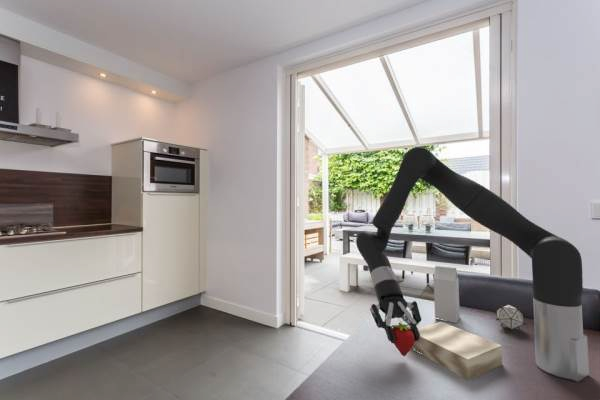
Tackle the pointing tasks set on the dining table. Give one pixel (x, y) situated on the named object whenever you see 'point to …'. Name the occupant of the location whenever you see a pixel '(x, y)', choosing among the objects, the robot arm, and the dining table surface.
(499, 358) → the birch stand
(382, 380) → the dining table surface
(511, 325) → the game die
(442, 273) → the grey tall block
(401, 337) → the strawberry
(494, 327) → the dining table surface
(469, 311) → the dining table surface
